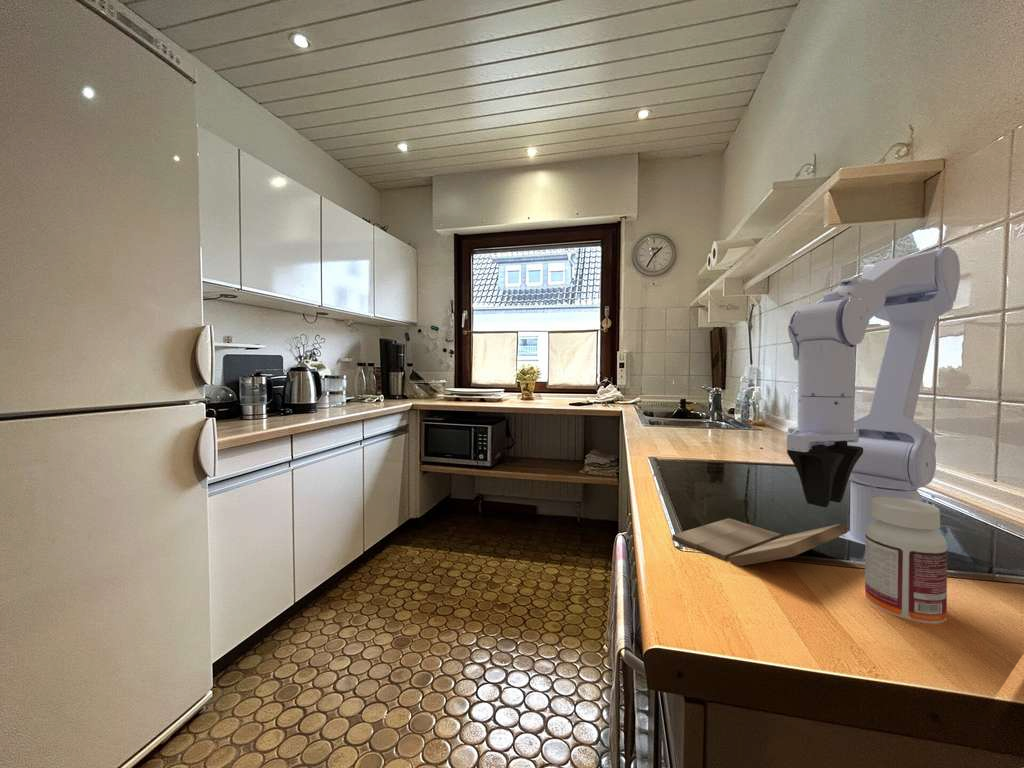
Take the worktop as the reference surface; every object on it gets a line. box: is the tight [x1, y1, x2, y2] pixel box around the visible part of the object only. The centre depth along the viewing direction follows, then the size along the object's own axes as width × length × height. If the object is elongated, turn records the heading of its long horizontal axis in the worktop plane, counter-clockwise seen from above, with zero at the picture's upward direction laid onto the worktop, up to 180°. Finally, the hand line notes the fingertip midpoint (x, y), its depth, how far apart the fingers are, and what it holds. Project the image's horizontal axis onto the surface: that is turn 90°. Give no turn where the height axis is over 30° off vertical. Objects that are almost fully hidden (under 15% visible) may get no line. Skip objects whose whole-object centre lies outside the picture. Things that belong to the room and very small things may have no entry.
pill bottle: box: [864, 497, 949, 624], centre depth 42 cm, size 6×6×11 cm
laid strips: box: [671, 517, 782, 561], centre depth 60 cm, size 14×9×1 cm, turn 120°
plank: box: [728, 523, 848, 567], centre depth 53 cm, size 14×8×1 cm
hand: (824, 502), depth 52 cm, fingers open, 3 cm apart
